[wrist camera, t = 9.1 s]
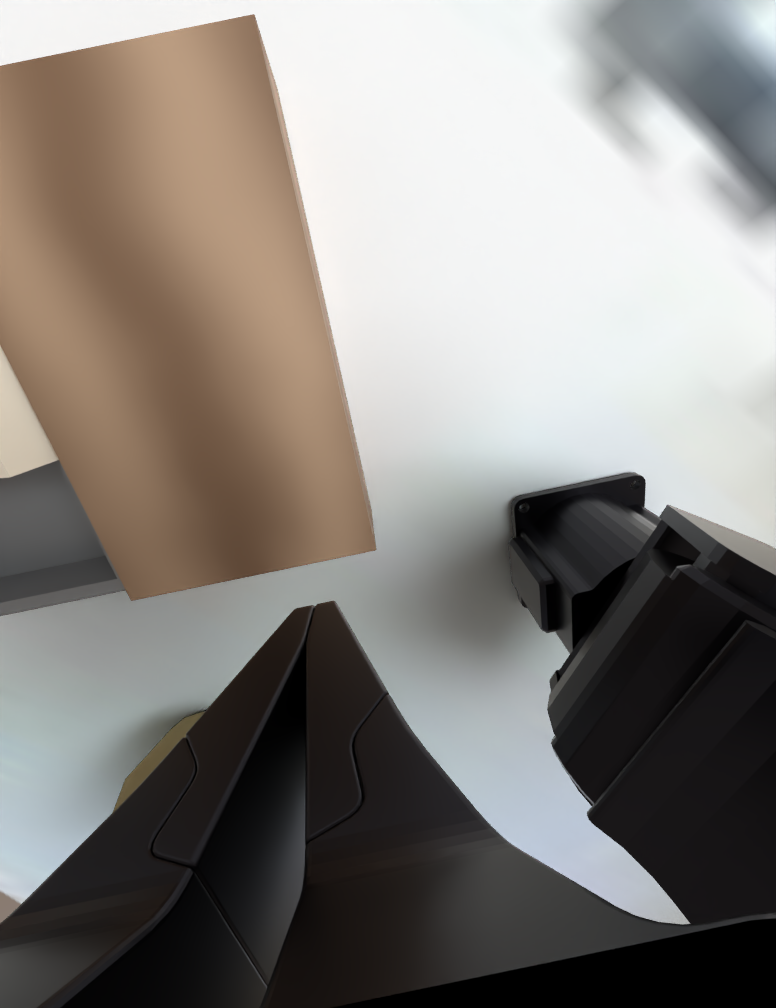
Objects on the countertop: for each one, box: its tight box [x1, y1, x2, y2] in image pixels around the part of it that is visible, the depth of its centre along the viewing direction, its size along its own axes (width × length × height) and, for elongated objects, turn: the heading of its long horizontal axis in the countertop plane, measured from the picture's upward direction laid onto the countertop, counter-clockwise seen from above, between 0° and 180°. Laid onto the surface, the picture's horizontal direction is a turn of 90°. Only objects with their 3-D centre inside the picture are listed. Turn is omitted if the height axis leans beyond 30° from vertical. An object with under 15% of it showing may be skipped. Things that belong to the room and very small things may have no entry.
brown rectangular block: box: [0, 14, 376, 601], centre depth 16 cm, size 10×16×4 cm, turn 11°
